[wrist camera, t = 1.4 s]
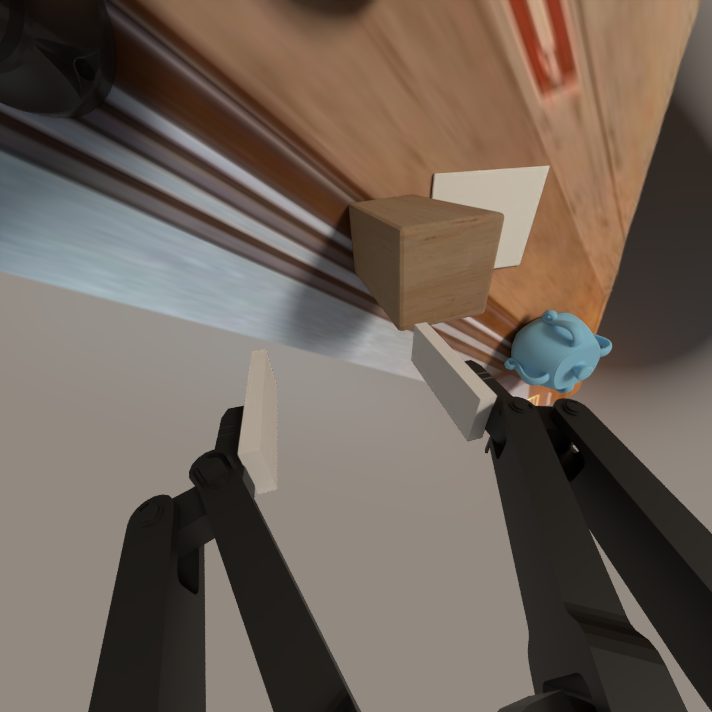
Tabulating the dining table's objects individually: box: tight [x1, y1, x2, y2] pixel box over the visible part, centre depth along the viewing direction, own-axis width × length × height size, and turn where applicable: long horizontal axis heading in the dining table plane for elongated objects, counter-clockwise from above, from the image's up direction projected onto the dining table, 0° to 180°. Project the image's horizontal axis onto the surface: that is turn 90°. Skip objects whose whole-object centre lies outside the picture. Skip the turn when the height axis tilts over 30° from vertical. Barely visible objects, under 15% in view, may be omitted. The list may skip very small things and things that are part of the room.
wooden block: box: [349, 195, 504, 331], centre depth 33 cm, size 10×10×20 cm
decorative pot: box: [504, 310, 612, 393], centre depth 57 cm, size 16×16×14 cm
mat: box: [431, 166, 550, 268], centre depth 44 cm, size 15×19×1 cm
